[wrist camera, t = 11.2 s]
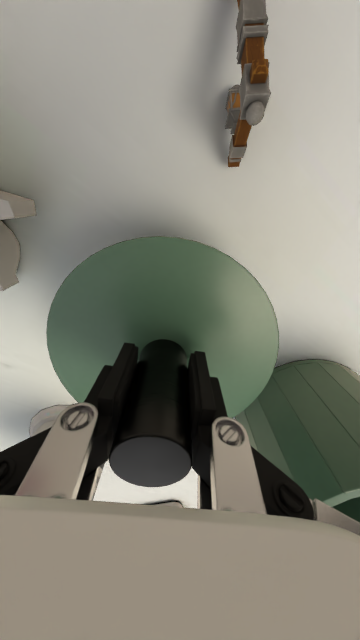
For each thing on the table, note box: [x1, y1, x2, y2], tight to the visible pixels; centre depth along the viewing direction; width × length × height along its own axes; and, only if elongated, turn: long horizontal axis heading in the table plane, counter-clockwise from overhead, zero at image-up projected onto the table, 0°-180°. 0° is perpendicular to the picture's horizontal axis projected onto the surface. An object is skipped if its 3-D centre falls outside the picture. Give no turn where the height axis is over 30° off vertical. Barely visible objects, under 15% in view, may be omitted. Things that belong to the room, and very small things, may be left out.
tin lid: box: [46, 236, 279, 487], centre depth 10 cm, size 14×14×7 cm
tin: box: [235, 359, 360, 523], centre depth 17 cm, size 13×13×10 cm
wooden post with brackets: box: [225, 0, 271, 167], centre depth 10 cm, size 2×8×4 cm, turn 2°
